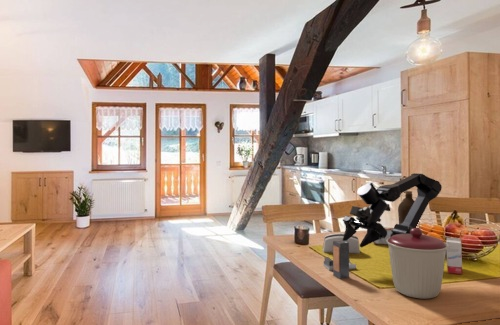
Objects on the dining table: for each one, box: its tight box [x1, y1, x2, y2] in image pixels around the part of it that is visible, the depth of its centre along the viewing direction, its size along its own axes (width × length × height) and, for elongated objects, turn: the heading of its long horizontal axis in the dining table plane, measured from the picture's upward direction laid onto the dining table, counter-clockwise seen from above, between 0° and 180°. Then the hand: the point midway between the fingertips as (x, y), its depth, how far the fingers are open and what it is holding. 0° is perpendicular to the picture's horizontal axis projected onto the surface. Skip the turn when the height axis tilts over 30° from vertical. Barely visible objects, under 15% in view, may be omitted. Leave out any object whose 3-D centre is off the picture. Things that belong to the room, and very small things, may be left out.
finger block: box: [332, 240, 350, 280], centre depth 126 cm, size 4×4×13 cm
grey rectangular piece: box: [323, 256, 357, 272], centre depth 137 cm, size 11×6×4 cm, turn 98°
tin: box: [372, 226, 394, 246], centre depth 170 cm, size 15×3×8 cm, turn 76°
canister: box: [386, 227, 449, 300], centre depth 111 cm, size 18×18×21 cm
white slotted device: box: [322, 232, 361, 254], centre depth 158 cm, size 17×5×10 cm, turn 81°
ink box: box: [445, 237, 463, 275], centre depth 131 cm, size 9×5×12 cm, turn 150°
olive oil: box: [397, 190, 415, 224], centre depth 181 cm, size 11×11×25 cm
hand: (351, 243), depth 128 cm, fingers open, 9 cm apart
